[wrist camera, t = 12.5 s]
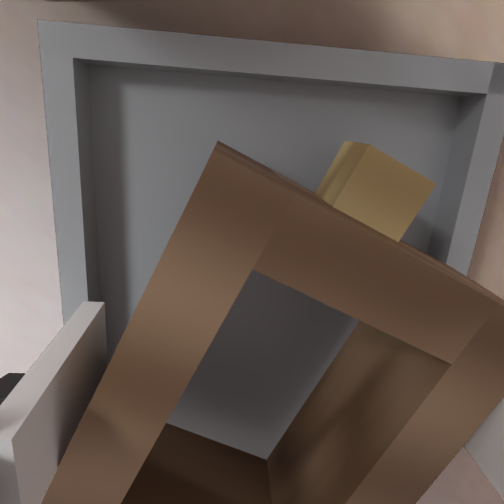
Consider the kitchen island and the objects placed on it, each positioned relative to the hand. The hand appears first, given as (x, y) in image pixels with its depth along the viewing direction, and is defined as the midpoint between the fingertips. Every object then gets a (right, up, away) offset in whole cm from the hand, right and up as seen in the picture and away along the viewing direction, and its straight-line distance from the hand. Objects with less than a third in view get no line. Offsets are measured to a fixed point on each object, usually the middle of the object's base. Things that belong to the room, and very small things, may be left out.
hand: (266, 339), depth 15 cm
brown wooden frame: (0, -1, 0) cm, 1 cm away
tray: (0, +1, +3) cm, 3 cm away
